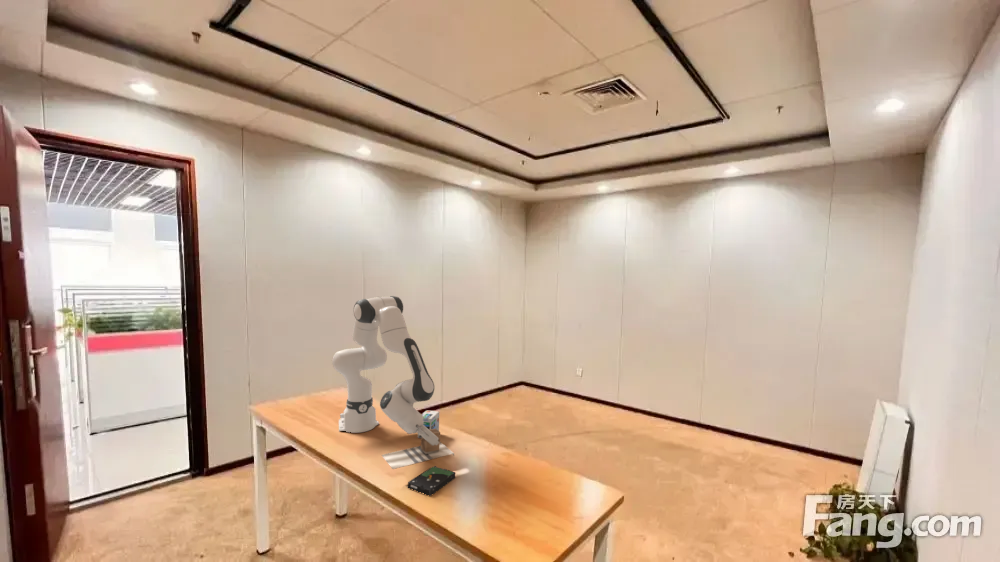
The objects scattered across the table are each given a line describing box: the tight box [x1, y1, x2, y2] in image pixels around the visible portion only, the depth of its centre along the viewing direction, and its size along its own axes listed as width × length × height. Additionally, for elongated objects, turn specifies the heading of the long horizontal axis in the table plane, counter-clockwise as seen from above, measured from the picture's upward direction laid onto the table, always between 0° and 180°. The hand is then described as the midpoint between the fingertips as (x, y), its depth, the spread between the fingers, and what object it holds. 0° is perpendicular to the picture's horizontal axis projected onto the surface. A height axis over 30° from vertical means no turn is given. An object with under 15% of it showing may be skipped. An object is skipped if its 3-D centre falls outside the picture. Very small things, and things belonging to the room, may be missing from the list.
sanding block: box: [420, 429, 441, 454], centre depth 168 cm, size 5×6×8 cm
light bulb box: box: [417, 409, 440, 439], centre depth 186 cm, size 11×7×11 cm, turn 168°
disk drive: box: [407, 465, 456, 497], centre depth 145 cm, size 10×3×15 cm
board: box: [381, 441, 455, 470], centre depth 165 cm, size 14×26×2 cm, turn 124°
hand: (434, 440), depth 169 cm, fingers closed on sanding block, 5 cm apart
